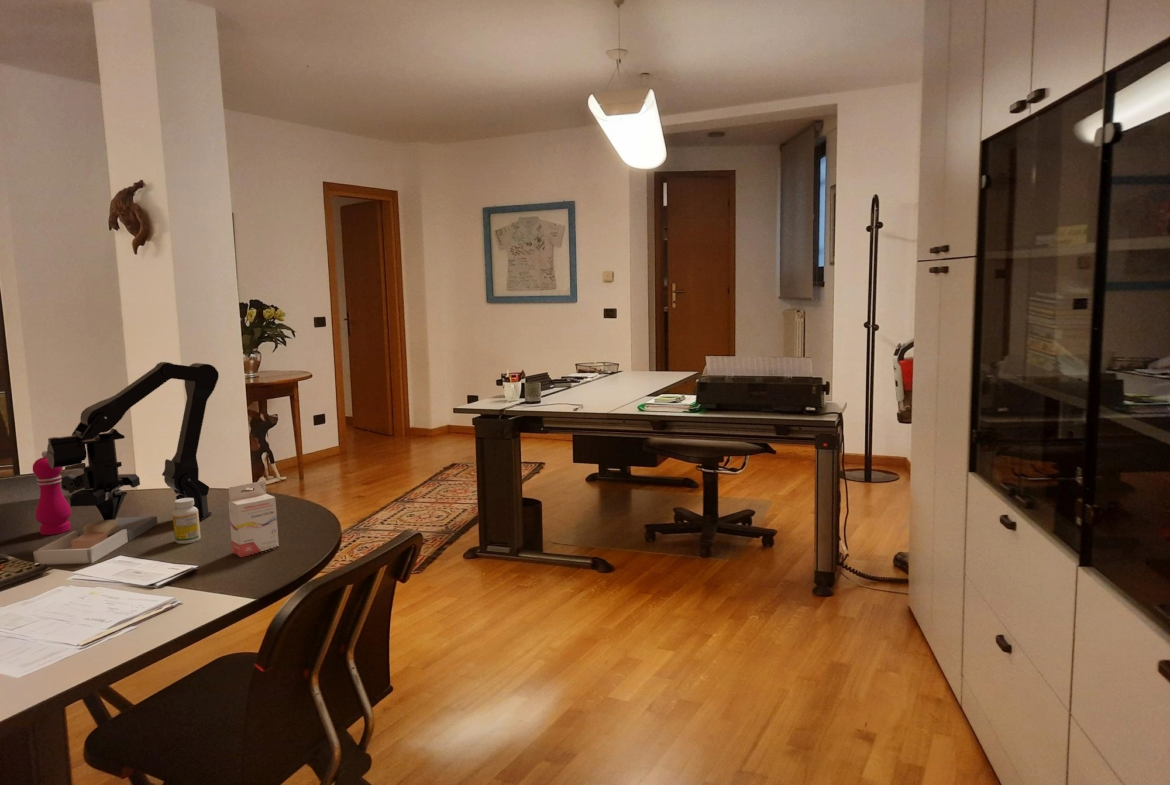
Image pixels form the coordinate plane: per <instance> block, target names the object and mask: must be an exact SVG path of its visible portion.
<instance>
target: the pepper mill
mask: <svg viewBox="0 0 1170 785" xmlns="http://www.w3.org/2000/svg"><path fill="white" fill-rule="evenodd" d="M46 452H47V450H44V451H42V452H41V458H38V459H37V460H35V461H34V463H33V464H32V473H33V474H34V475H35V476H36V477H37V478H36V481H37V482H36V484H37V485H38V486H39V490H40V491H39V494H40V495H39V499H38V500H39V501H38V503H37V505H36V509H35V519H36V521H37V522H38V523H40V524H41V525H40V526H39V534H41V535H42V536H54V535H60V534H63V533H66V532H69V531H70V530H71V529H72V525H71V521H69V518H70V517H71V515H72V509H71V506H70V503H69V502H68V501H67V499H66V498H65V496H64V494H63V491H62V488H61V478H62V475H61V473H62V471H63V468H64V467H59V468H51V467H50V465H49V463H48V459H47V453H46Z"/></svg>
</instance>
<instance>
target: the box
mask: <svg viewBox="0 0 1170 785" xmlns="http://www.w3.org/2000/svg"><path fill="white" fill-rule="evenodd" d="M78 533H79V532H78V531H77V530H73V531H71V532H69V533H68V534H66V535H64V536H62V537H60V538H59V537H58V538H57V539H55V540H53V541H52V542H50V543H47V544H46V545H43V546H42V547H39V548H37V549H36V550H34V551H33V552H32V553H33V559H34V560H33V561H34V564H35V563H42V564H46V565H49V566H50V565H75V564H76V565H77V564H78V565H79V564H93V563H95V562H97V561H99V559H102V558H104V557H105V556H106V555H108V554H110V553H112V552H113V551H116V550H117V549H119V548H120V547H122V546H123V545H126V543H128V542H129V541H128V538H127V529H123V530H121V531H119V532H117V533H116V534H114V535H112V536H110V537H109V538H107V539H105V540H103V541H101V542H100V543H98V544H96V545H94V546H92V547H91V548H88V549H72V544H71V540H73V539H75V538H77V537H78ZM46 565H45V566H46Z"/></svg>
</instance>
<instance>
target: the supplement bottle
mask: <svg viewBox="0 0 1170 785" xmlns="http://www.w3.org/2000/svg"><path fill="white" fill-rule="evenodd" d="M173 504H174V507H176V509H174V510H173V511H172V513H171V515H172V524H173V533H174V541H175V543H176V544H179V545H181V544H183V545H184V544H185V545H186V544H192V543H195V542H197V541H200V540H201V538H202V536H201V525H200V521H199V513H198V509H197V508H196V507H194V506H193V505H194V499H193V498H182V499H178V500H176V499H175V500H174V503H173Z"/></svg>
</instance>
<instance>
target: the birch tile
mask: <svg viewBox="0 0 1170 785" xmlns="http://www.w3.org/2000/svg"><path fill="white" fill-rule="evenodd" d="M82 528H83V529H82V531H84V534H85V533H107V536H109V535H111V534H112V533H114V532H116V531H118V530H119V525H118V520H104V519H96V520H94V521H92V522H90V523H88V524H85V525H84V526H83V527H82Z"/></svg>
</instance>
